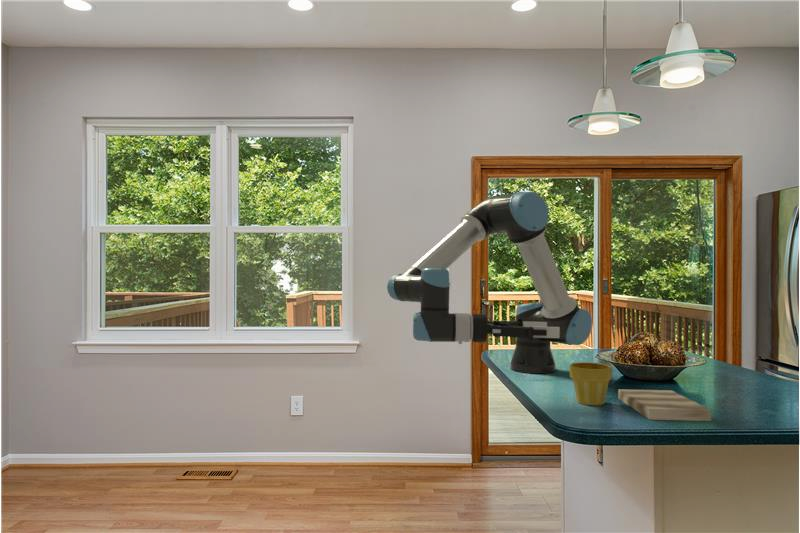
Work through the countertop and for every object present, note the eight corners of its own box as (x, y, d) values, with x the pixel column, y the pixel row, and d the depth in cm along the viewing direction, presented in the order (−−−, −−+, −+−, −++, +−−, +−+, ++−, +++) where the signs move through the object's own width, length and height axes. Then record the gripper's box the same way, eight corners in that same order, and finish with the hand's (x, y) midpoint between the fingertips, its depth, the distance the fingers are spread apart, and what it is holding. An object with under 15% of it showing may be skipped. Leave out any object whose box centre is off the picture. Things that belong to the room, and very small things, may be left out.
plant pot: (566, 404, 136) (566, 366, 136) (573, 396, 145) (573, 360, 146) (609, 409, 131) (609, 370, 132) (613, 400, 141) (613, 363, 141)
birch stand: (618, 398, 143) (618, 389, 143) (671, 399, 142) (671, 390, 142) (649, 419, 123) (649, 408, 123) (711, 420, 122) (711, 410, 122)
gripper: (467, 336, 152) (542, 338, 151) (475, 349, 128) (564, 351, 126) (467, 310, 153) (542, 311, 151) (475, 317, 128) (565, 319, 127)
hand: (552, 329), depth 139 cm, fingers open, 13 cm apart
